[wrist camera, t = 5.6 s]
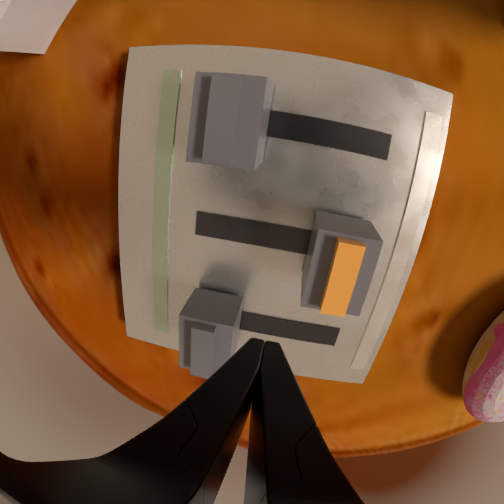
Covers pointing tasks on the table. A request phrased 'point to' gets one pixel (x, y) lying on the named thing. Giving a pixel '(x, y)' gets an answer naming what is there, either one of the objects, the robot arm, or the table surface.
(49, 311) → the table surface
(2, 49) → the white cube
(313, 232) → the breaker
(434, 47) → the table surface
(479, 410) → the donut
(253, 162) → the block
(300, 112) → the panel
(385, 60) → the table surface
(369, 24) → the table surface
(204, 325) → the breaker
